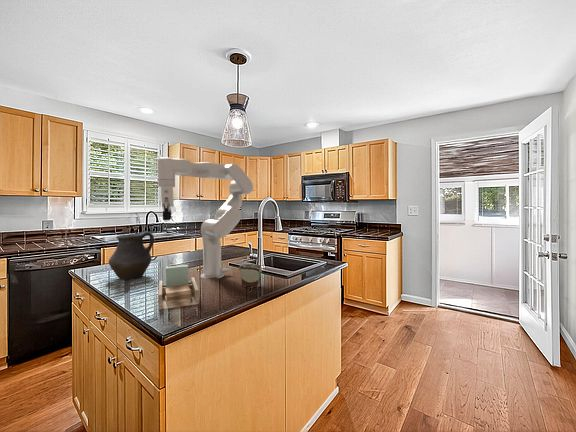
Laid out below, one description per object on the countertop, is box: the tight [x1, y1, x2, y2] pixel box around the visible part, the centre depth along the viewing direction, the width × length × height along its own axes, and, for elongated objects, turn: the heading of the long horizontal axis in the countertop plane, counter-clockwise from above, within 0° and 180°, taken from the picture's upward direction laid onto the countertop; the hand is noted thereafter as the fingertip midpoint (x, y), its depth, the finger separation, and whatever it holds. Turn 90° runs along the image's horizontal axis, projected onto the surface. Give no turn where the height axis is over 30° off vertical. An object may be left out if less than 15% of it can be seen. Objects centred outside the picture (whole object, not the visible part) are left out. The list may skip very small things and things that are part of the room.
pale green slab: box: [165, 264, 190, 287], centre depth 123 cm, size 9×3×12 cm, turn 114°
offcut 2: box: [167, 289, 191, 301], centre depth 115 cm, size 9×7×2 cm
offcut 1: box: [165, 285, 191, 297], centre depth 114 cm, size 9×7×2 cm
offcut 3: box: [165, 296, 191, 306], centre depth 114 cm, size 9×7×2 cm
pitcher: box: [108, 230, 155, 280], centre depth 153 cm, size 21×22×25 cm
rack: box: [157, 276, 200, 310], centre depth 117 cm, size 14×20×7 cm
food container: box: [238, 263, 263, 288], centre depth 140 cm, size 12×6×10 cm, turn 65°
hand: (167, 219), depth 136 cm, fingers open, 9 cm apart
